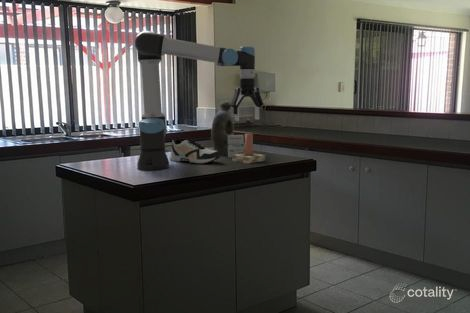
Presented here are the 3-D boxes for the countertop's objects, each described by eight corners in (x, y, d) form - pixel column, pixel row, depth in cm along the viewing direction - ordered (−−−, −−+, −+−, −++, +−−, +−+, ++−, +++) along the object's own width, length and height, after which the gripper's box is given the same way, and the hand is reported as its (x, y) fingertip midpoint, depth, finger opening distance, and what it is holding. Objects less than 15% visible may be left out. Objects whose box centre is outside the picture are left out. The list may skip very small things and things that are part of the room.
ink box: (244, 155, 264) (244, 134, 262) (243, 157, 259) (243, 135, 257) (228, 155, 264) (228, 134, 263) (227, 157, 260) (227, 135, 258)
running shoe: (213, 165, 235) (213, 141, 233) (163, 161, 249) (162, 138, 247) (224, 162, 245) (223, 139, 243) (175, 158, 258) (174, 136, 257)
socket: (247, 163, 239) (247, 157, 239) (232, 160, 248) (232, 154, 248) (265, 160, 247) (265, 155, 246) (249, 158, 256) (249, 152, 255)
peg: (248, 161, 245) (248, 134, 243) (243, 160, 248) (243, 133, 246) (254, 160, 247) (254, 133, 245) (249, 159, 250) (249, 133, 248)
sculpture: (238, 152, 275) (238, 100, 270) (221, 155, 264) (221, 101, 260) (224, 151, 282) (223, 100, 278) (207, 153, 272) (206, 100, 267)
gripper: (232, 77, 230) (232, 121, 234) (270, 78, 246) (269, 119, 249) (223, 78, 236) (223, 120, 240) (260, 78, 252) (260, 118, 255)
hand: (247, 120), depth 244 cm, fingers open, 13 cm apart
